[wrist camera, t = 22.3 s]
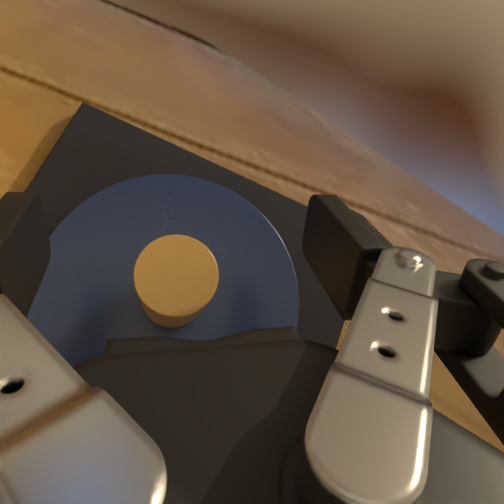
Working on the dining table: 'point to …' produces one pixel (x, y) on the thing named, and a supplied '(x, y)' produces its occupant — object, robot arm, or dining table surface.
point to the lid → (162, 268)
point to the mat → (180, 163)
